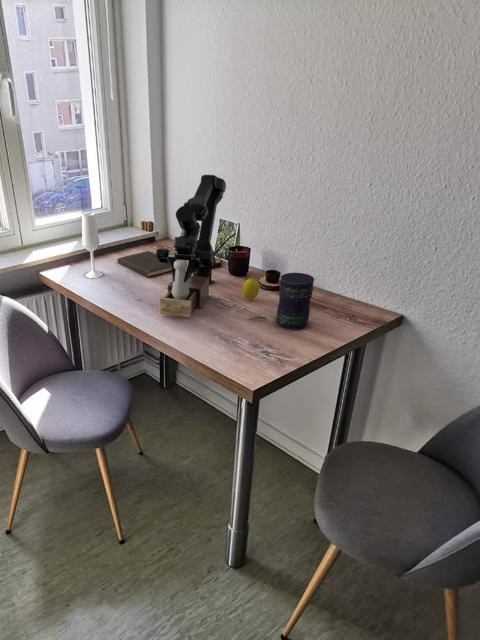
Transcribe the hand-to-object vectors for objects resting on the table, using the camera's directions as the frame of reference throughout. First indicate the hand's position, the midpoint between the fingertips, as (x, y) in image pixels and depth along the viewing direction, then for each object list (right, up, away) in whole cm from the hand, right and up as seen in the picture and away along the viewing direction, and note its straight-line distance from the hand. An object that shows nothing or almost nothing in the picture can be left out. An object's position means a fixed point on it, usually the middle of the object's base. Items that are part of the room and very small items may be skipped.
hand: (179, 281), depth 163 cm
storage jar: (+35, -14, -4) cm, 38 cm away
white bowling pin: (+1, -5, +5) cm, 7 cm away
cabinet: (+4, -4, +15) cm, 16 cm away
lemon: (+26, -4, +13) cm, 29 cm away
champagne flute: (-32, +11, +41) cm, 53 cm away
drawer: (0, -9, +4) cm, 10 cm away
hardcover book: (-10, +16, +48) cm, 51 cm away
